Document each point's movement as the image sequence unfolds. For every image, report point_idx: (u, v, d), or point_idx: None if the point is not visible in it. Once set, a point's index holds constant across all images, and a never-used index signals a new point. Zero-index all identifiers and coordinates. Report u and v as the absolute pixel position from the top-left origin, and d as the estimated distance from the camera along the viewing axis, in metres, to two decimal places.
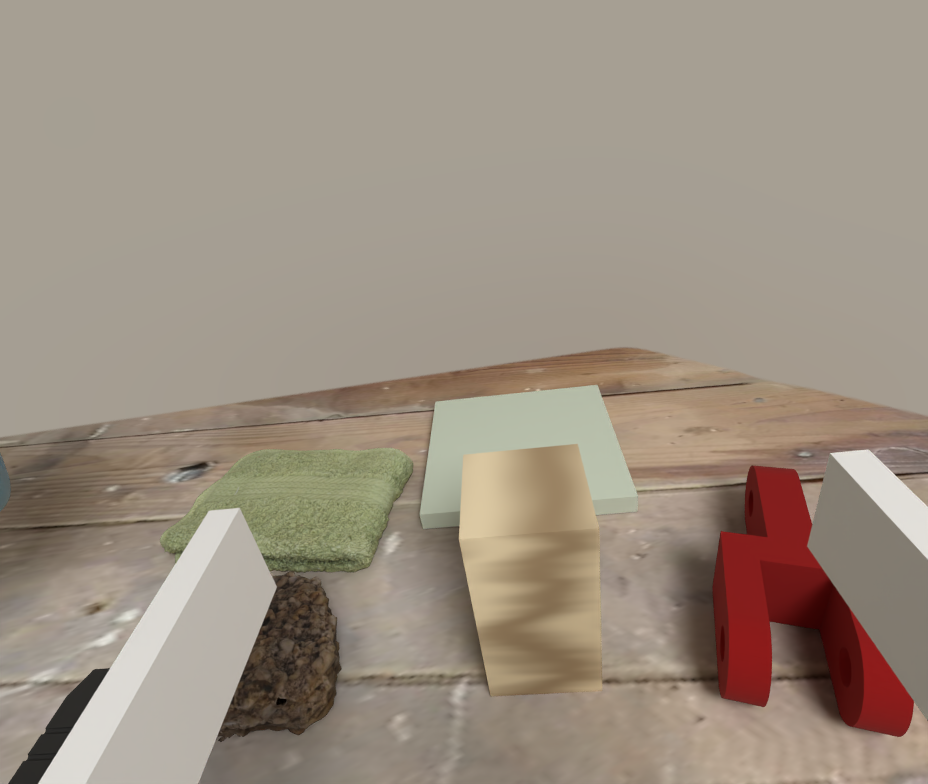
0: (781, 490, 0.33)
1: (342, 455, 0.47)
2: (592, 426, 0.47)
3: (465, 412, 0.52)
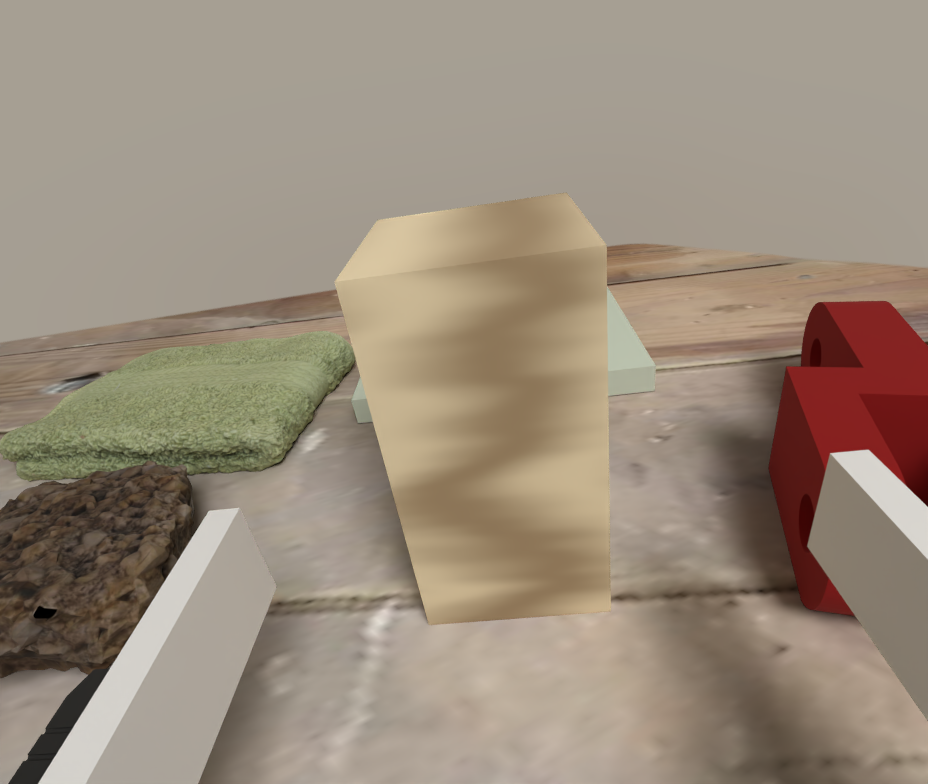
0: (869, 319, 0.22)
1: (261, 343, 0.35)
2: None
3: None
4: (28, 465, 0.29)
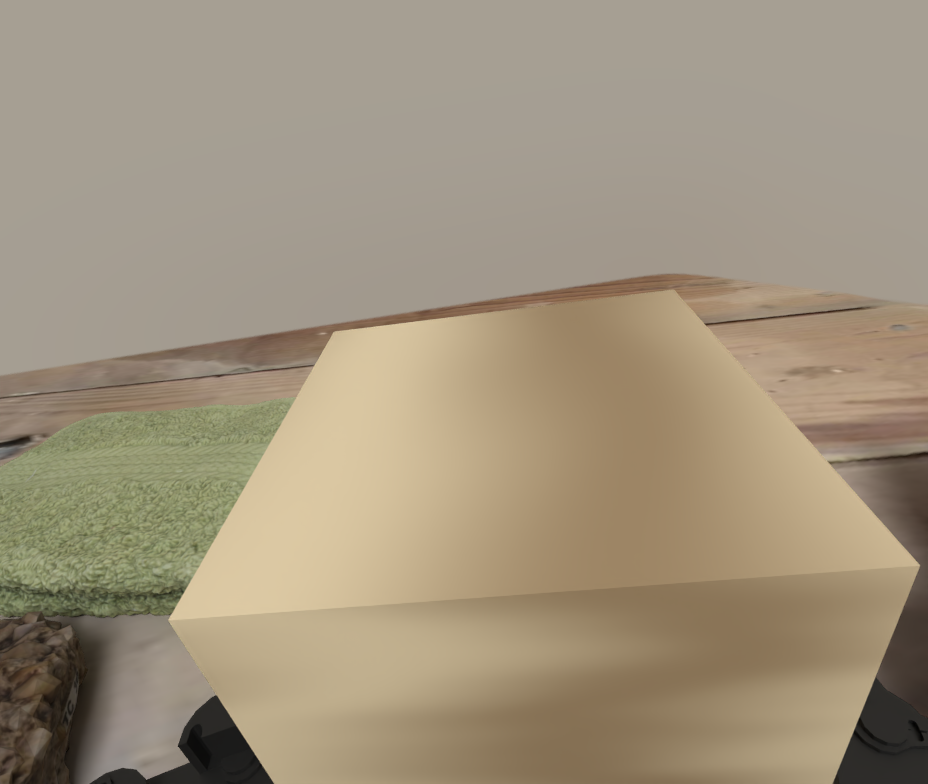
0: None
1: (220, 412, 0.28)
2: None
3: None
4: None
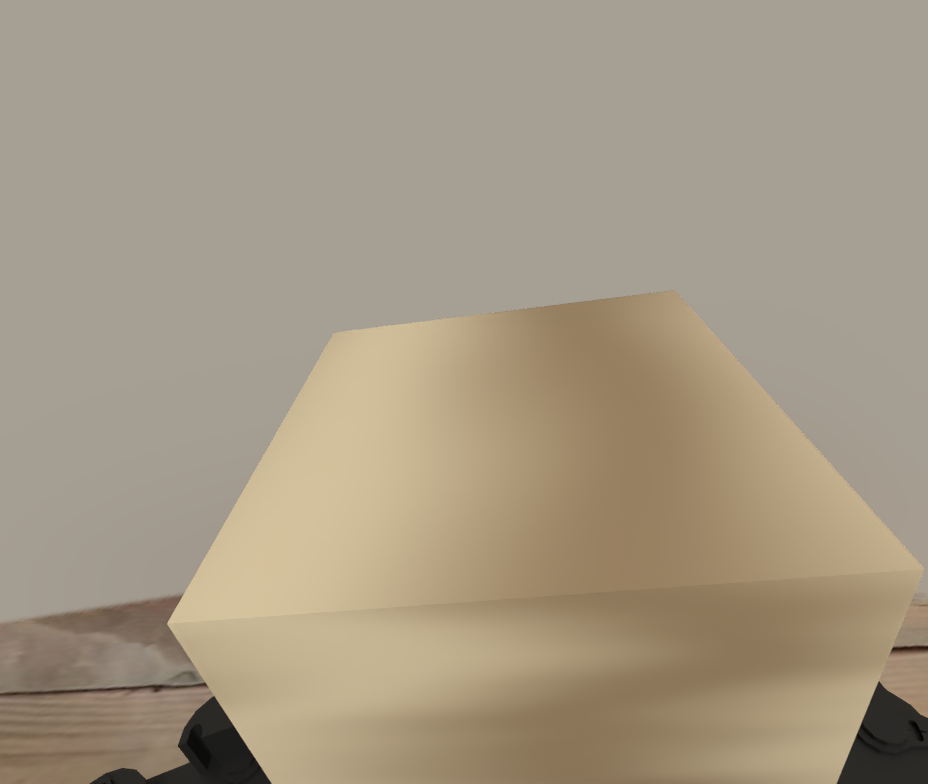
0: None
1: None
2: None
3: None
4: None
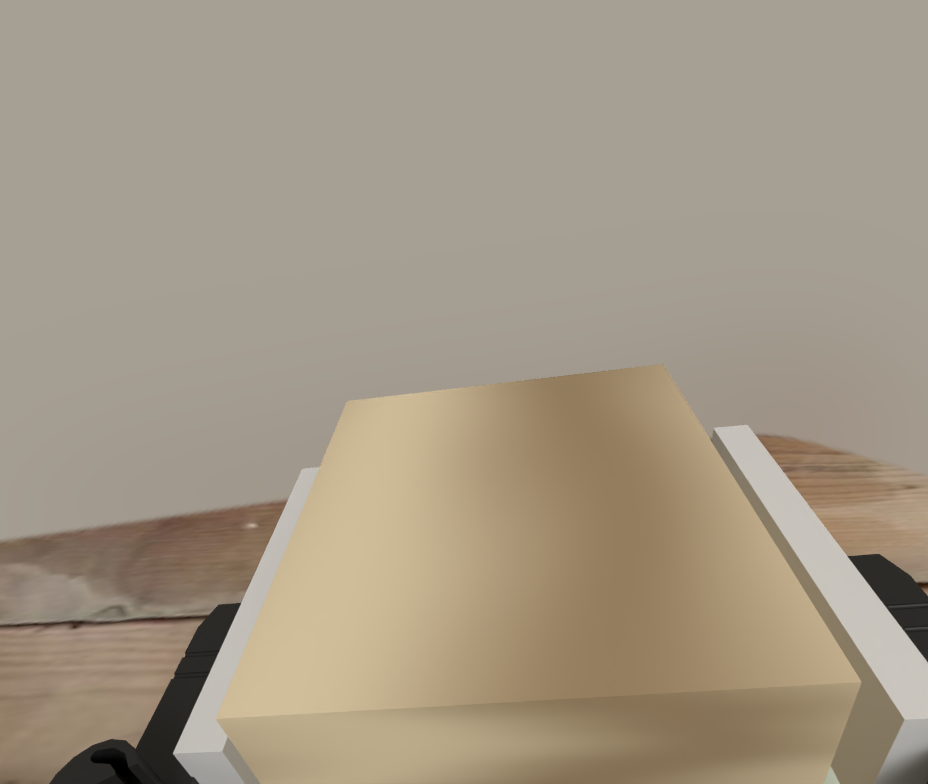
0: None
1: None
2: None
3: None
4: None
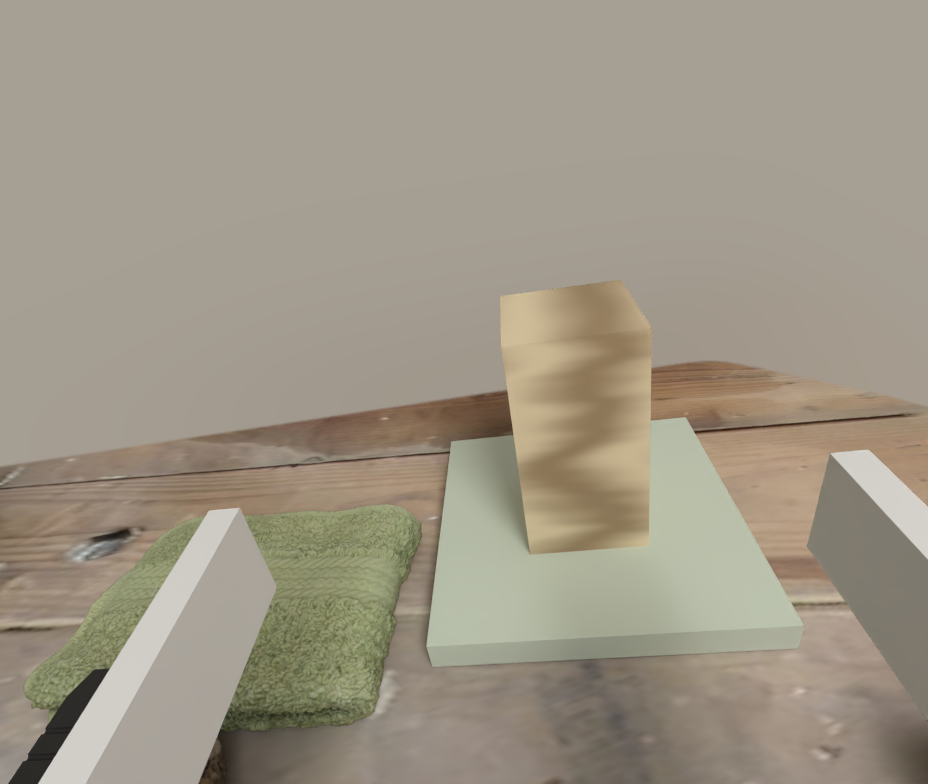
0: None
1: (315, 520, 0.32)
2: (692, 485, 0.30)
3: (494, 458, 0.36)
4: None
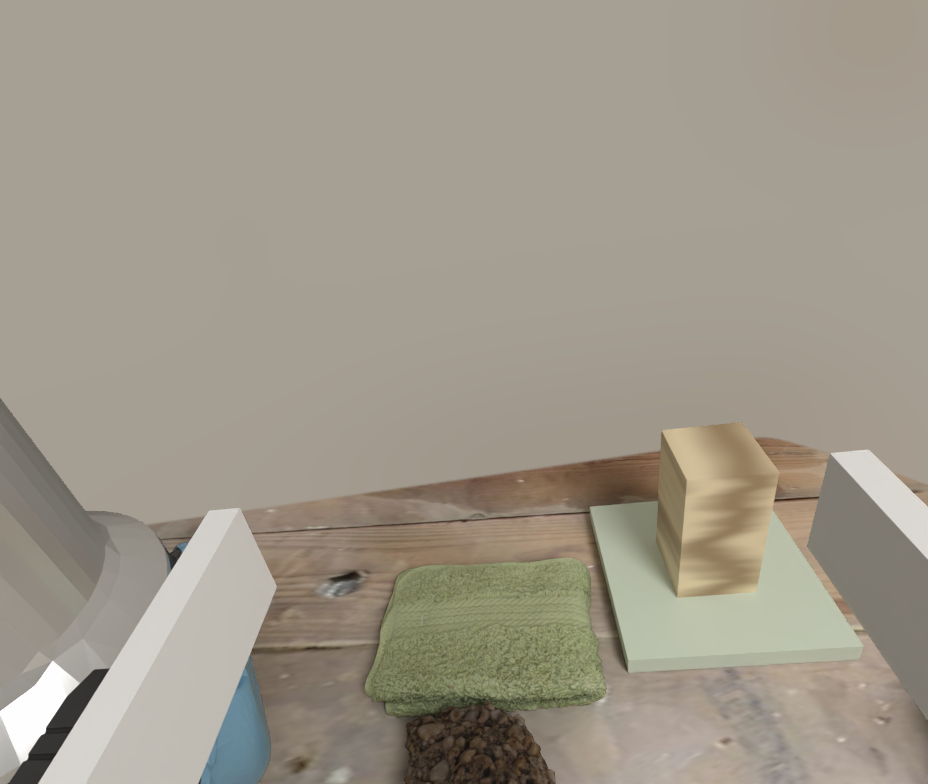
0: None
1: (518, 569, 0.46)
2: (776, 547, 0.45)
3: (628, 522, 0.50)
4: (401, 708, 0.39)
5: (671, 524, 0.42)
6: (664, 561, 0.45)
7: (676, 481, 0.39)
